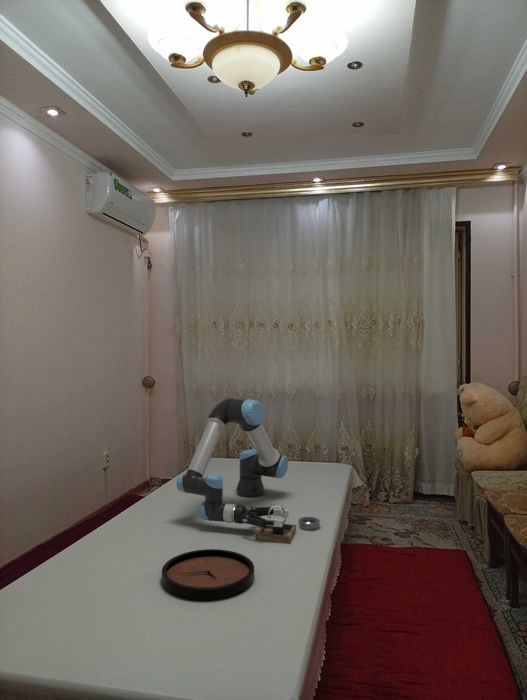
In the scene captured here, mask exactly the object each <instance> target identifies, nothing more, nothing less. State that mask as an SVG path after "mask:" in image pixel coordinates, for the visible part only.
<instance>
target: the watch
mask: <svg viewBox="0 0 527 700" xmlns="http://www.w3.org/2000/svg"><path fill="white" fill-rule="evenodd" d="M270 507H271V508H270V510H269V512H270V511H271V510H272V509H279V512H280V514H281V515H282V518H283V519H284V520H283V524H286V522H287V518H288V517H287V514H286V512H285V510H286V509H285V508H284V507H283V506H282V505H273V506H270ZM269 512H268V515H267V518H268V519H273V518H272V515H270V513H269ZM273 534H275V535H283V527H275V526H273Z"/></svg>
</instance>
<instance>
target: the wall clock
mask: <svg viewBox="0 0 527 700" xmlns="http://www.w3.org/2000/svg"><path fill="white" fill-rule="evenodd" d="M254 581H255V564H254V562H253V561H252V560H251V559H250V558H249V557H247V556H246V555H244V554H242V553H239V552H236V551H231V550H226V549H217V548H215V549H213V548H211V549H197V550H191V551H187V552H183V553H180V554H178V555H176V556H173V557H172V558H170V559H169V560H167V561H166V562H165V563H164V564H163V566H162V568H161V586H162V588H163V590H164V591H165V592H166V593H168V594H170V595H171V596H173V597H176V598H178V599H182V600H186V601H191V602H192V601H193V602H215V601H222V600H227V599H231V598H233V597H237V596H239V595H241V594H243V593H245V592H246V591H248V590H249V589H250V588H251V587H252V586H253V584H254Z"/></svg>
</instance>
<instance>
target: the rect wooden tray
mask: <svg viewBox="0 0 527 700" xmlns="http://www.w3.org/2000/svg"><path fill="white" fill-rule="evenodd" d="M295 532H297V524H292V523H291V524H289V523H284V524H283V535H275V534H273V526H266V528H263V527H259V528H258V529H257V531H256V532H255V541H259V542H261V541H262V542H267V543H268V542H269V543H278V544H286V543H287V544H288V545H289V544H291V542H292V540H293V538H294V536H295V535H296V533H295ZM287 544H286V545H287Z"/></svg>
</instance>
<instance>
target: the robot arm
mask: <svg viewBox="0 0 527 700" xmlns="http://www.w3.org/2000/svg"><path fill="white" fill-rule="evenodd" d="M264 418H265V413H264V407H263V404H262V403H261V402H260V401H259V400H256V399H249V398H248V399H246V398H234V397H233V398H232V397H231V398H230V397H229V398H225V399H222V400H221V401H220V402H218V403H217V404H216V405H215V406H214V407H213V409H211V411H210V413H209V415H208V417H207V419H206V421H207V425H206V426H205V428H204V432H203V434H202V436H201V438H200V440H199V443H198V445H197V447H196V449H195V452H194V454H193V456H192V459H191V461H190V463H189V466H188V468H187V470H186V472H185V473H184V474H180V475H179V476H178V477H177V480H176V488H177V490H178V491H179V492H182V493H186V494H192V495H198V496H203V497H204V501H202V502H201V503H200V505H199V510H198V511H199V513H198V515H199V518H200V519H201V520H204V521H209V522H222V523H228V524H231V523H232V524H234V523H235V524H239V525H240V524H247V525H250V526H255V527H259V528H260V527H263V528H266V526H275V527H283V521H284V520H283V519H276V518H272V519H269V518H268V512H269V510H270V508H271V507H272V506H263V507H262V506H261V507H256V506H255V507H254V506H252V507H250V509H247V507H246V506H245V505H244V504H234V503H233V504H232V503H224V501H223V499H224V498H223V497H224V492H223V491H224V490H223V489H224V483H223V481H224V480H223V476H222V475H221V474H217V473H209V474H207V475H205V477H204V474H205V472H206V470H207V469H208V465H209V462H210V460H211V458H212V455H213V453H214V450H215V448H216V445H218V444H217V443H218V441H219V439H220V437H221V434H222V431H223V430H225V429H226V428H227V425H229V423H231V424H237V425H238V427H239V428H240V430H241V431H243V432H245V433H246V435H247V436H248V438H249V441H250V442H251V444H252V446H253V447H254V448H252V449H246V450H242V451H241V452H240V453H239V480H238V481H237V483H238V484H237V486H236V488H235V490H236V491H235V493H236V495H237V496H240V497H243V498H258V497H261V496H263V495H265V494H266V493H265V491H266V490H265V486H264V482H263V480H262V477H269V478H274V479H283V478H284V477H285V475H286V473H287V471H288V466H289V460H288V457H287V456H286V455H285V454H283V455H282V454H281V453H280V451H279V450H278V449H277V448H275V447H274V446H273V444H272V442H271V440H270V438H269V436H268V434H267V432H266V429H265V428H264V426H263V424H262V423H263V420H264ZM284 510H285V512H286V514H287V517H286V518H289V516H290V515H289V514H290V513H289V512H290V511H289V510H288V509H284ZM269 513H270V516H274V517H280V518H281V517H282V515H281V514H280V512H279V509H278V508H274V509H272V510H271V511H270V512H269ZM264 517H267V518H264ZM282 518H283V517H282Z"/></svg>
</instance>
